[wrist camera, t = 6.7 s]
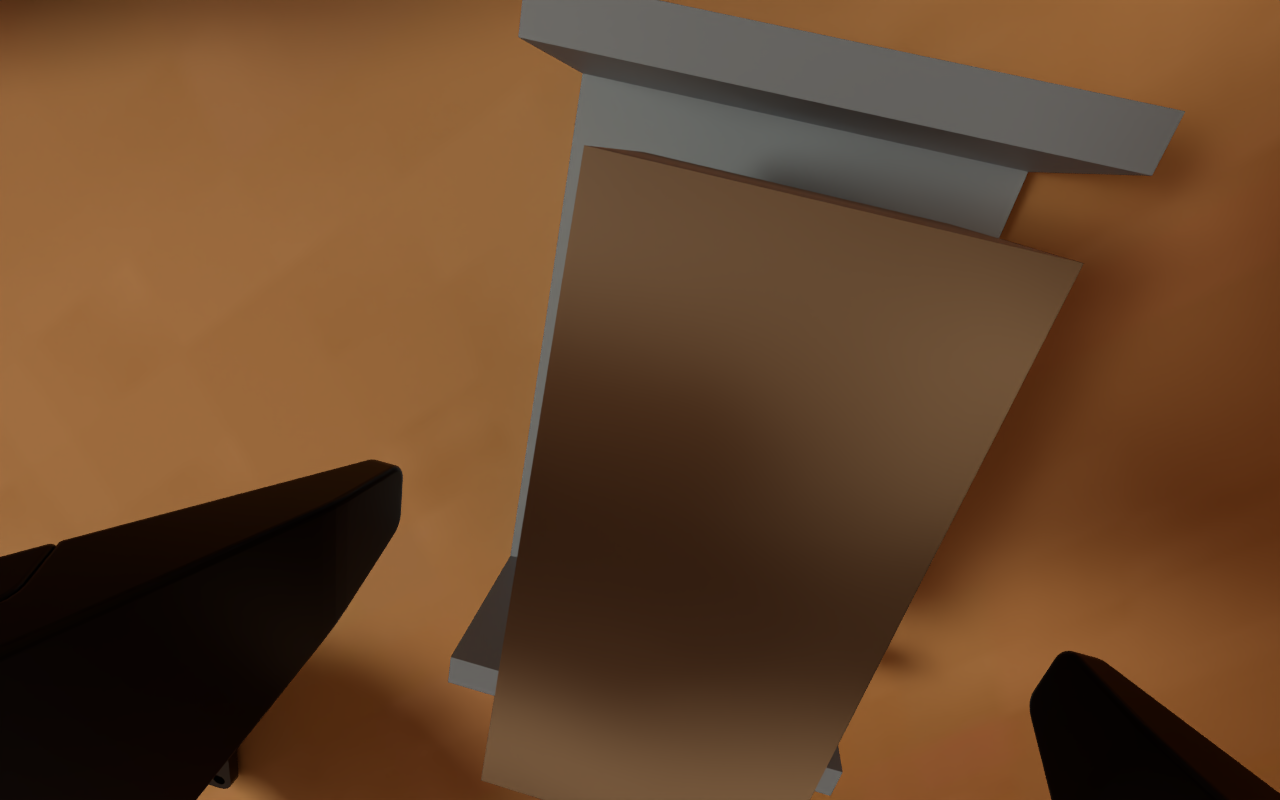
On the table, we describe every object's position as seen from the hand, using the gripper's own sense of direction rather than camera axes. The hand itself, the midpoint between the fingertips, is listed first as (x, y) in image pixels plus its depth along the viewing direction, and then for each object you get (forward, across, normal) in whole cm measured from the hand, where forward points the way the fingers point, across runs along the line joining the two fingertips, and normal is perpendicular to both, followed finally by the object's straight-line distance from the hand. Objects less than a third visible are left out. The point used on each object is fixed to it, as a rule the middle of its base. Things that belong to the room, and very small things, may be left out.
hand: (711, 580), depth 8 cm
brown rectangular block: (+4, 0, 0) cm, 4 cm away
